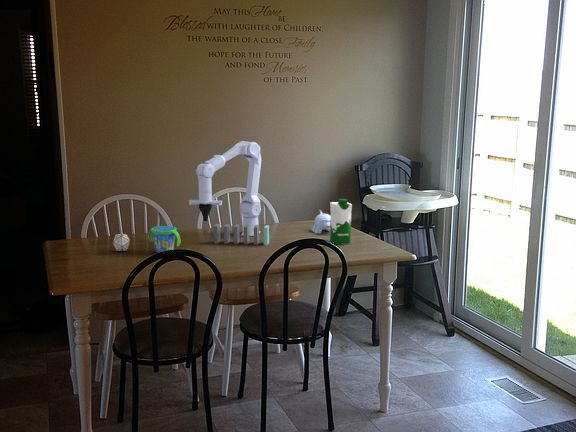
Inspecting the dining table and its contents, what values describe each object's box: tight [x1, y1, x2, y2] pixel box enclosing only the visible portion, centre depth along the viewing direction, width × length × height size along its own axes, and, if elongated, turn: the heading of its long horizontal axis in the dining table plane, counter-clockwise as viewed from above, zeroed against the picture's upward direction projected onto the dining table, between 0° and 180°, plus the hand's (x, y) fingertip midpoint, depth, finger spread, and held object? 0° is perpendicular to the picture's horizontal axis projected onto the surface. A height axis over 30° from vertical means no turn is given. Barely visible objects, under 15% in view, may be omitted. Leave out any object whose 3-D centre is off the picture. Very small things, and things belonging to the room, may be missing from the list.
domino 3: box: [233, 223, 241, 245], centre depth 280 cm, size 2×5×8 cm, turn 173°
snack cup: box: [147, 225, 182, 254], centre depth 264 cm, size 16×10×10 cm
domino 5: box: [253, 224, 260, 246], centre depth 279 cm, size 2×5×8 cm, turn 173°
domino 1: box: [213, 223, 221, 245], centre depth 281 cm, size 2×5×8 cm, turn 173°
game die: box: [110, 232, 133, 253], centre depth 264 cm, size 9×8×10 cm
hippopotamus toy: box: [311, 209, 331, 234], centre depth 304 cm, size 11×15×10 cm
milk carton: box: [329, 198, 353, 245], centre depth 281 cm, size 9×9×20 cm
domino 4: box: [243, 225, 250, 245], centre depth 280 cm, size 2×5×8 cm, turn 173°
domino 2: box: [223, 223, 231, 245], centre depth 281 cm, size 2×5×8 cm, turn 173°
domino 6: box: [263, 224, 270, 246], centre depth 278 cm, size 2×5×8 cm, turn 173°
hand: (205, 220), depth 281 cm, fingers closed
